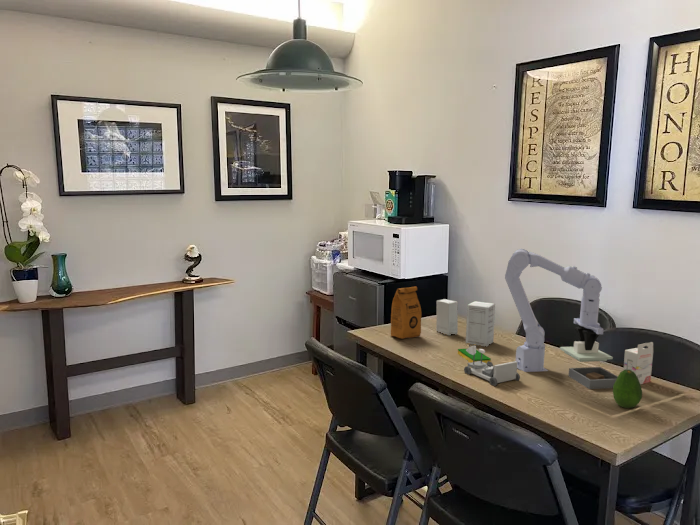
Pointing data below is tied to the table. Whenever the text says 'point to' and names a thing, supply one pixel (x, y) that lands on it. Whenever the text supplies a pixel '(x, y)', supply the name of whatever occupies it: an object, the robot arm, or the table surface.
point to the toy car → (491, 369)
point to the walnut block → (594, 376)
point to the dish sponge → (470, 357)
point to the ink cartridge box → (640, 361)
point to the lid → (585, 352)
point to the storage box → (580, 377)
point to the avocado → (627, 389)
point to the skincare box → (447, 317)
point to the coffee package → (406, 314)
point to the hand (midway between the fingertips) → (585, 348)
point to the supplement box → (480, 323)
